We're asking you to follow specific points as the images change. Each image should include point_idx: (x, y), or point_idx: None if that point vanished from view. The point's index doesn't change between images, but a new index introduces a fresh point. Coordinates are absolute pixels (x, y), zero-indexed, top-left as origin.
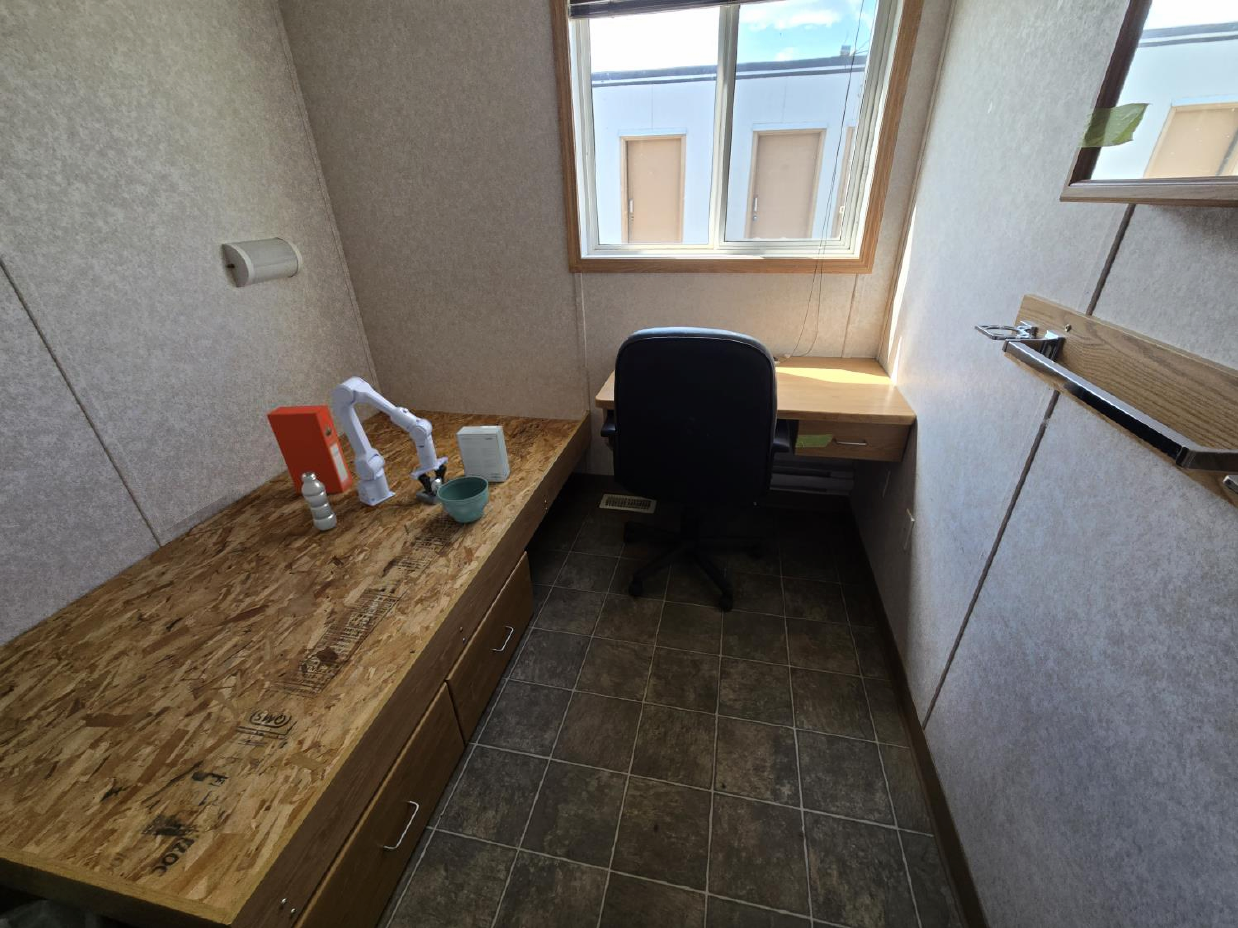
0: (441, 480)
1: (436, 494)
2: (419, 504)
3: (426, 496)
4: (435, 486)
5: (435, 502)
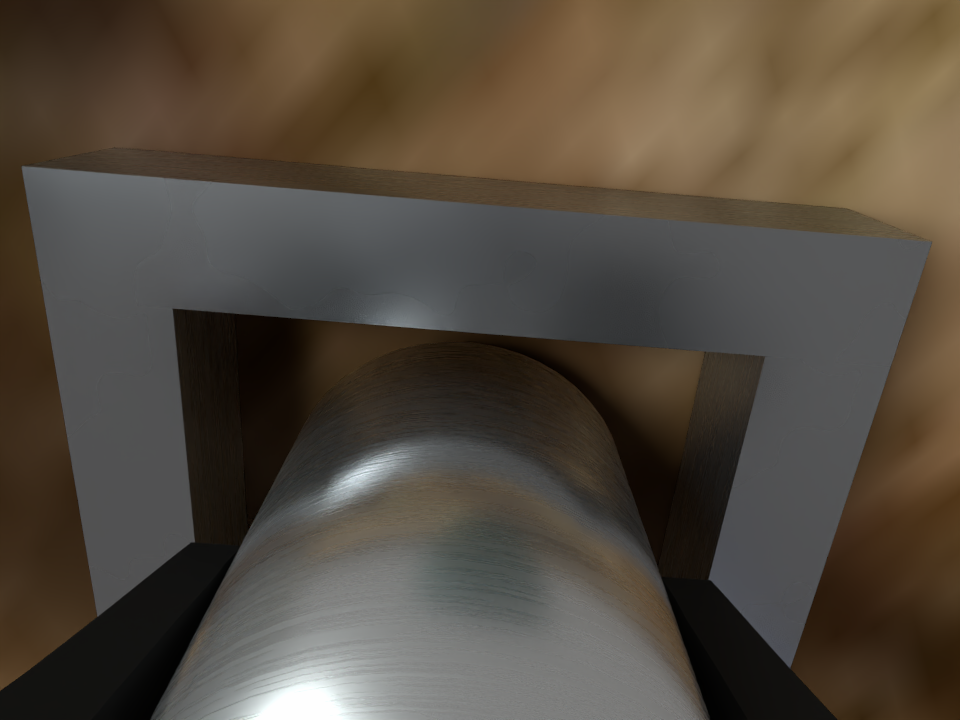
0: (195, 662)
1: (590, 424)
2: (896, 541)
3: (788, 564)
4: (614, 582)
5: (844, 215)
